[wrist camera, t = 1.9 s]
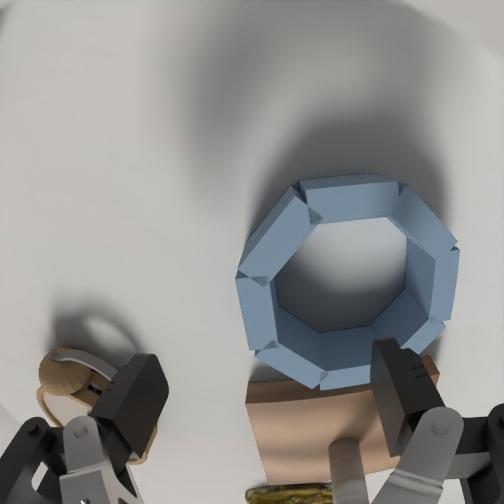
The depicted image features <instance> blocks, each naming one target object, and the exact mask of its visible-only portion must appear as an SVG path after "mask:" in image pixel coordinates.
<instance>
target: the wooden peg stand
mask: <svg viewBox="0 0 504 504" xmlns="http://www.w3.org/2000/svg"><path fill="white" fill-rule="evenodd" d="M421 360H422V362H423V363H424V367H426V369H427V371H428V373H429V376H430V377H431V379H432V381H433V382H434V384H435V386H436V385H437V382H438V378H439V375H440V373H439V371H438V369H437V368H436V366H435V364H434V363H433V361H432V359H431V357H430V356H427V357H423V358H421ZM245 405H246V408H247V412H248V415H249V419H250V423H251V426H252V430H253V433H254V437H255V440H256V444H257V447H258V451H259V454H260V457H261V461H262V464H263V467H264V471H265V474H266V477H267V480H268V484H269V485H285V484H300V483H311V482H321V481H329V480H331V484H332V496H333V504H369V500H368V493H367V487H366V481H365V475H366V474H371V473H375V472H380V471H384V470H388V469H392V468H395V467H396V466H397V464H398V462H399V460H400V459H401V458H400V456H396V457H392V458H390V455H389V451H388V447H387V443H386V439H385V435H384V431H383V427H382V424H381V420H380V416H379V413H378V409H377V406H376V402H375V399H374V395H373V392H372V388H371V383H366V384H361V385H355V386H349V387H342V388H335V389H328V390H320V384H318V385H317V386H316V387H314V388H313V389H311V388H309V387H307V386H305V385H303V384H301V383H300V382H298V381H296V380H294V379H293V380H282V381H269V382H254V383H248V387H247V395H246V402H245Z"/></svg>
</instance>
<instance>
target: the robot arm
mask: <svg viewBox="0 0 504 504" xmlns="http://www.w3.org/2000/svg"><path fill="white" fill-rule="evenodd" d="M370 383H371V388H372V392H373V395H374V399H375V402H376V406H377V409H378V413H379V416H380V420H381V424H382V427H383V431H384V435H385V439H386V443H387V447H388V451H389V455H390V458H392V457H396V456H400V458H401V459H400V460H399V462H398V464H397V466H396V467H395V469H394V471H393V472H392V473H391V474H390V476H389V477H388V479H387V480H386V482H385V483H384V485H383V486H382V488H381V490H380V491H379V493H378V494H377V496H376V497H375V499H374V500H373V502H372V503H371V504H437V503H438V501H439V498H440V496H441V494H442V491H443V487H442V485H443V482H444V480H445V479H460V483H461V487H462V491H463V495H464V499H465V504H504V403H503V404H499V405H497V406H495V407H494V408H493V409H492V410H491V412H490V413H489V415H488V416H487V417H474V418H464V417H461V415H460V414H459V413H458V412H457V411H455V410H454V409H452V408H448V407H446V406H445V405H444V402H443V400H442V398H441V396H440V394H439V392H438V390H437V388H436V386H435V384H434V382H433V381H432V379H431V377H430V376H429V373H428V371H427V369H426V367H424V363H423V362H422V360H421V358H420V356H419V355H418V354H417V353H415V352H414V351H413V350H412V349H410V348H404V349H401V348H400V346H399V344H398V342H397V340H396V338H395V337H394V336H392V337H387V338H381V339H375V340H374V341H373V345H372V356H371V366H370ZM168 394H169V387H168V382H167V380H166V378H165V375H164V373H163V370H162V368H161V366H160V363H159V361H158V358H157V356H156V355H155V354H135V355H134V356H133V358H132V359H131V361H130V362H129V364H128V365H125V366H124V367H123V368H121V369H120V370H119V371H118V372H116V373H115V375H114V376H113V378H112V379H111V381H110V384H108V385H107V387H106V388H105V391H103V393H102V394H101V396H100V397H99V399H98V400H97V402H96V403H95V405H94V406H93V408H92V410H91V411H90V413H89V414H88V416H78V417H75V418H73V419H72V420H70V421H69V422H68V423H67V424H66V426H65V427H50V426H49V424H48V423H47V422H46V420H45V419H43V418H41V417H33V418H31V419H29V420H27V421H26V422H25V423H24V424H23V425H22V426H21V428H20V429H19V431H18V432H17V434H16V435H15V437H14V438H13V440H12V441H11V443H10V444H9V446H8V447H7V449H6V450H5V452H4V453H3V455H2V456H1V458H0V504H144V502H143V500H142V497H141V495H140V493H139V490H138V488H137V485H136V483H135V480H134V477H133V475H132V472H131V469H130V467H129V465H128V464H127V461H128V459H129V457H130V458H135V459H140V460H141V458H142V456H143V453H144V451H145V449H146V446H147V444H148V442H149V439H150V437H151V435H152V432H153V430H154V428H155V425H156V423H157V421H158V419H159V416H160V414H161V412H162V409H163V407H164V405H165V403H166V400H167V398H168ZM41 461H42V462H43V463H44V464H45V465H46V466H47V467H48V470H47V472H46V474H45V475H44V477H43V480H42V481H41V483H40V485H39V487H38V489H37V491H35V490H34V489H33V487H32V484H31V480H32V477H33V475H34V474H35V472H36V470H37V468H38V466H39V465H40V463H41Z"/></svg>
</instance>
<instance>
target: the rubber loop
mask: <svg viewBox="0 0 504 504" xmlns="http://www.w3.org/2000/svg"><path fill="white" fill-rule="evenodd" d="M299 184H300V191H301V192H300V191H298V190H297V189H296V188H294V187H293V186H292V185H290V187H289V188H288V189H287V190H286V192H285V193H284V194H283V196H282V197H281V198H280V199H279V201H278V202H277V203H276V205H275V206H274V207H273V208H272V210H271V211H270V212H269V214H268V215H267V216H266V217H265V219H264V220H263V221H262V223H261V224H260V225H259V226H258V228H257V229H256V230H255V232H254V233H253V234H252V235H251V237H250V238H249V239H248V241H247V242H246V244H245V247H244V250H243V253H242V256H241V260H240V263H239V266H238V271H237V275H236V278H235V281H236V286H237V291H238V296H239V301H240V306H241V311H242V316H243V321H244V326H245V331H246V336H247V341H248V346H249V350H255V357H256V358H257V359H259V360H261V361H262V362H264V363H266V364H268V365H269V366H271V367H273V368H274V369H276V370H278V371H280V372H282V373H283V374H285V375H287V376H289V377H290V378H292V379H294V380H296V381H298V382H300V383H301V384H303V385H305V386H307V387H309V388H311V389H313V388H314V387H316V386H317V385H318V384H320V390H328V389H335V388H342V387H349V386H355V385H361V384H366V383H370V366H371V356H372V345H373V341H374V340H375V339H381V338H387V337H392V336H394V337H395V338H396V340H397V342H398V344H399V346H400V348H401V349H404V348H410V349H412V350H413V351H414V352H415V353H417V354H418V355H419V354H420V353H421V352H422V351H423V350H424V349H425V348H426V347H427V346H428V345H429V344H430V343H431V342H432V341H433V340H434V339H435V338H436V337H437V336H438V335H439V334H440V333H441V332H442V331H443V330H444V329H445V328H446V326H445V325H444V324H443V322H442V321H446V320H450V318H451V313H452V307H453V301H454V295H455V288H456V281H457V273H458V264H459V253H460V249H458V248H457V247H455V246H454V245H455V244H456V243H457V240H456V239H455V237H454V236H453V235H452V234H451V232H450V231H449V230H448V229H447V228H446V227H445V225H444V224H443V223H442V222H441V221H440V220H439V218H438V217H437V216H436V215H435V214H434V213H433V212H432V210H431V209H430V208H429V207H428V206H427V205H426V204H425V203H424V202H423V201H422V200H421V198H420V197H419V196H418V195H417V194H416V193H415V192H414V191H413V190H412V189H411V188H410V187H409V186H408V185H406V184H403V183H400V182H398V181H396V180H393V179H389V178H386V177H383V176H380V175H377V174H373V173H367V174H355V175H344V176H333V177H324V178H314V179H305V180H299ZM379 217H387V218H388V219H389V220H390V221H391V222H392V223H393V224H394V225H395V226H396V227H397V228H398V229H399V230H400V231H401V232H402V233H403V234H404V235H405V236H406V237H407V261H406V281H405V289H404V290H403V291H402V292H401V293H400V294H399V295H398V296H397V298H396V299H395V300H394V301H393V302H392V303H391V304H390V305H389V306H388V307H387V308H386V309H385V310H384V311H383V312H382V313H381V314H380V315H379V316H378V317H377V318H376V319H375V320H374V321H373V322H372V323H371V324H370V325H369V326H364V327H358V328H351V329H344V330H337V331H330V332H323V333H318V332H317V331H315V330H314V329H312V328H311V327H309V326H308V325H306V324H305V323H303V322H302V321H300V320H299V319H297V318H296V317H294V316H293V315H291V314H290V313H288V312H287V311H285V310H284V309H282V308H281V307H280V306H278V300H277V293H276V285H275V278H274V276H275V275H276V274H277V273H278V272H279V271H280V269H281V268H282V267H283V266H284V265H285V264H286V262H287V261H288V260H289V259H290V258H291V256H292V255H293V254H294V253H295V252H296V250H297V249H298V248H299V247H300V246H301V244H302V243H303V242H304V241H305V240H306V238H307V237H308V236H309V235H310V234H311V232H312V231H313V230H314V229H315V228H316V226H317V225H318V224H325V223H334V222H343V221H352V220H361V219H370V218H379Z"/></svg>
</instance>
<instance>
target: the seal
mask: <svg viewBox="0 0 504 504" xmlns="http://www.w3.org/2000/svg"><path fill="white" fill-rule="evenodd" d="M245 499H246V502H247V503H249V504H333V496H332V484H286V485H276V486H269V487H262V488H257V489H253V490H249V491H247V492H246V494H245Z"/></svg>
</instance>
